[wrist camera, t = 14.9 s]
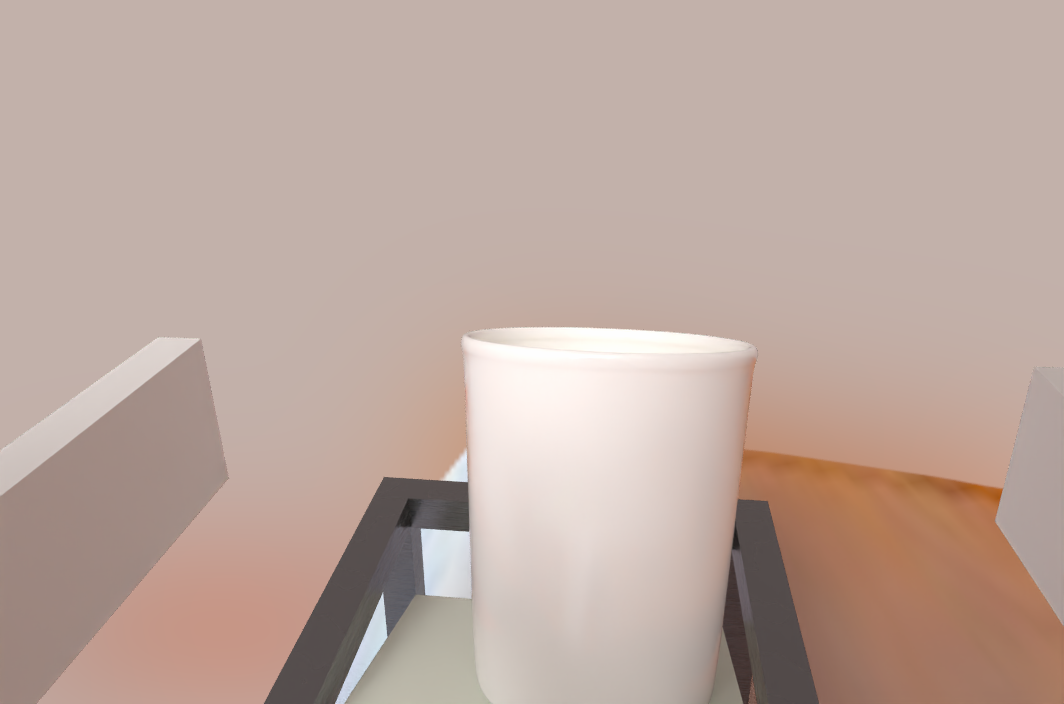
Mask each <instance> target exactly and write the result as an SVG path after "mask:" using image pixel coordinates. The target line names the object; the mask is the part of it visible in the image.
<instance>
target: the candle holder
mask: <svg viewBox="0 0 1064 704" xmlns="http://www.w3.org/2000/svg"><path fill="white" fill-rule="evenodd" d="M461 347H462V352H463V359H464V377H465V405H466V406H465V408H466V439H467V471H468V503H469V534H470V565H471V595H472V622H473V644H474V661H475V671H476V677H477V681H478V684H479V687H480V689H481V691H482V693H483V694H484V696H485V697H486V698H487V700H488V701H489V702H490V703H491V704H709V702H710V700H711V697H712V693H713V689H714V684H715V679H716V672H717V665H718V658H719V651H720V643H721V635H722V627H723V619H724V611H725V603H726V595H727V587H728V578H729V570H730V562H731V553H732V545H733V537H734V528H735V520H736V512H737V503H738V495H739V487H740V478H741V470H742V461H743V453H744V444H745V436H746V428H747V420H748V411H749V403H750V395H751V387H752V380H753V373H754V368H755V364H756V361H757V357H758V350H757V348H756V347H755V346H754V345H752V344H750V343H747V342H743V341H739V340H734V339H728V338H721V337H713V336H705V335H696V334H686V333H675V332H662V331H647V330H630V329H608V328H576V327H523V328H521V327H520V328H498V329H484V330H476V331H471V332H468V333H465V334H464V335H463V336H462V339H461Z"/></svg>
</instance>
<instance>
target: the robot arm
mask: <svg viewBox="0 0 1064 704" xmlns="http://www.w3.org/2000/svg"><path fill="white" fill-rule="evenodd" d="M228 479H229V477H228V472H227V467H226V462H225V457H224V452H223V447H222V442H221V437H220V432H219V427H218V422H217V417H216V412H215V406H214V402H213V396H212V391H211V386H210V381H209V377H208V372H207V367H206V362H205V356H204V351H203V346H202V341H201V339H194V338H165V337H158V338H157V339H156V340H154V341H153V342H151V343H150V344H148V345H147V346H146V347H144V348H143V349H141V350H140V351H139V352H137V353H136V354H134V355H133V356H132V357H130V358H129V359H127V360H126V361H125V362H123V363H122V364H120V365H119V366H118V367H116V368H115V369H113V370H112V371H111V372H109V373H108V374H106V375H105V376H104V377H102V378H101V379H99V380H98V381H97V382H95V383H94V384H92V385H91V386H90V387H88V388H87V389H85V390H84V391H83V392H81V393H80V394H79V395H77V396H76V397H74V398H73V399H71V400H70V401H68V402H67V403H66V404H64V405H63V406H62V407H60V408H59V409H58V410H56V411H54V412H53V413H52V414H50V415H49V416H47V417H46V418H45V419H43V420H42V421H40V422H39V423H38V424H37V425H35V426H33V427H32V428H31V429H29V430H28V431H27V432H25V433H24V434H22V435H21V436H20V437H18V438H17V439H15V440H14V441H13V442H11V443H10V444H8V445H7V446H5V447H4V448H3V449H1V450H0V704H37V702H38V701H39V700H40V699H41V698H42V696H43V695H44V694H45V693H46V692H47V691H48V690H49V688H50V687H51V686H52V685H53V684H54V682H55V681H56V680H57V679H58V678H59V677H60V675H61V674H62V673H63V672H64V671H65V670H66V668H67V667H68V666H69V665H70V664H71V663H72V661H73V660H74V659H75V658H76V657H77V656H78V654H79V653H80V652H81V651H82V650H83V648H84V647H85V646H86V645H87V644H88V642H89V641H90V640H91V639H92V638H93V637H94V636H95V634H96V633H97V632H98V631H99V630H100V629H101V627H102V626H103V625H104V624H105V623H106V622H107V620H108V619H109V618H110V617H111V616H112V615H113V613H114V612H115V611H116V610H117V609H118V607H119V606H120V605H121V604H122V603H123V602H124V600H125V599H126V598H127V597H128V596H129V595H130V593H131V592H132V591H133V590H134V589H135V588H136V586H137V585H138V584H139V583H140V582H141V581H142V579H143V578H144V577H145V576H146V575H147V573H148V572H149V571H150V570H151V569H152V568H153V566H154V565H155V564H156V563H157V562H158V561H159V559H160V558H161V557H162V556H163V555H164V554H165V552H166V551H167V550H168V549H169V548H170V547H171V545H172V544H173V543H174V542H175V541H176V540H177V538H178V537H179V536H180V535H181V534H182V533H183V531H184V530H185V529H186V528H187V527H188V525H189V524H190V523H191V522H192V521H193V520H194V518H195V517H196V516H197V515H198V514H199V513H200V511H201V510H202V509H203V508H204V507H205V506H206V504H207V503H208V502H209V501H210V500H211V498H212V497H213V496H214V495H215V494H216V493H217V492H218V490H219V489H220V488H221V487H222V486H223V484H224V483H225V482H226V481H227V480H228ZM995 522H996V524H997V525H998V527H999V528H1000V530H1001V531H1002V533H1003V534H1004V536H1005V537H1006V539H1007V540H1008V542H1009V543H1010V545H1011V546H1012V548H1013V550H1014V551H1015V553H1016V554H1017V556H1018V557H1019V559H1020V560H1021V562H1022V563H1023V565H1024V566H1025V568H1026V569H1027V571H1028V572H1029V574H1030V575H1031V577H1032V579H1033V580H1034V582H1035V583H1036V585H1037V586H1038V588H1039V589H1040V591H1041V592H1042V594H1043V595H1044V597H1045V598H1046V600H1047V601H1048V603H1049V605H1050V606H1051V608H1052V609H1053V611H1054V612H1055V614H1056V615H1057V617H1058V618H1059V620H1060V621H1061V623H1062V624H1063V626H1064V368H1054V367H1052V368H1051V367H1034V369H1033V373H1032V377H1031V381H1030V385H1029V389H1028V393H1027V397H1026V401H1025V405H1024V409H1023V413H1022V416H1021V420H1020V425H1019V428H1018V433H1017V436H1016V441H1015V444H1014V448H1013V453H1012V456H1011V460H1010V464H1009V468H1008V472H1007V476H1006V480H1005V484H1004V488H1003V492H1002V495H1001V499H1000V503H999V507H998V511H997V515H996V519H995Z"/></svg>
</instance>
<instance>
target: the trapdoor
mask: <svg viewBox="0 0 1064 704" xmlns="http://www.w3.org/2000/svg"><path fill="white" fill-rule="evenodd" d="M344 704H491V703H490V702H489V701H488V700H487V698H486V697H485V696H484V694H483V693H482V691H481V689H480V687H479V684H478V681H477V677H476V671H475V661H474V644H473V622H472V599H465V598H453V597H440V596H427V595H415V596H414V598H413V599H412V601H411V603H410V604H409V606H408V607H407V609H406V610H405V612H404V613H403V615H402V616H401V618H400V619H399V621H398V622H397V624H396V625H395V627H394V628H393V630H392V632H391V633H390V635H389V636H388V638H387V639H386V641H385V642H384V644H383V645H382V647H381V648H380V650H379V651H378V653H377V654H376V656H375V658H374V659H373V661H372V662H371V664H370V665H369V667H368V668H367V670H366V671H365V673H364V674H363V676H362V677H361V679H360V680H359V682H358V683H357V685H356V687H355V688H354V690H353V691H352V693H351V694H350V696H349V697H348V699H347V700H346V702H345V703H344ZM709 704H743V701H742V697H741V694H740V690H739V686H738V682H737V679H736V675H735V671H734V668H733V664H732V660H731V656H730V653H729V649H728V645H727V642H726V638H725V634H724V630H723V627H722V635H721V643H720V651H719V658H718V665H717V672H716V679H715V684H714V689H713V693H712V697H711V700H710V702H709Z"/></svg>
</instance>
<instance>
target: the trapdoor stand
mask: <svg viewBox="0 0 1064 704" xmlns="http://www.w3.org/2000/svg"><path fill="white" fill-rule="evenodd" d="M421 528H424V529H438V530H453V531H467V532H469V503H468V482H454V481H438V480H422V479H406V478H389V477H384V478H383V480H382V482H381V484H380V486H379V488H378V489H377V491H376V493H375V495H374V497H373V499H372V501H371V503H370V505H369V507H368V509H367V510H366V512H365V514H364V516H363V518H362V520H361V522H360V523H359V525H358V527H357V529H356V531H355V533H354V535H353V537H352V539H351V541H350V542H349V544H348V546H347V548H346V550H345V552H344V554H343V555H342V558H341V559H340V561H339V564H338V565H337V567H336V569H335V571H334V572H333V574H332V576H331V578H330V580H329V582H328V584H327V586H326V588H325V590H324V591H323V593H322V595H321V597H320V599H319V601H318V603H317V604H316V606H315V608H314V610H313V612H312V614H311V616H310V618H309V620H308V622H307V624H306V625H305V627H304V629H303V631H302V633H301V635H300V637H299V639H298V640H297V642H296V644H295V646H294V648H293V650H292V652H291V654H290V655H289V657H288V659H287V661H286V663H285V665H284V667H283V669H282V671H281V672H280V674H279V676H278V678H277V680H276V682H275V684H274V686H273V687H272V689H271V691H270V693H269V695H268V697H267V699H266V701H265V703H264V704H335V702H336V700H337V697H338V695H339V693H340V690H341V688H342V686H343V684H344V681H345V679H346V677H347V674H348V672H349V670H350V667H351V665H352V663H353V660H354V658H355V656H356V653H357V651H358V649H359V646H360V644H361V642H362V639H363V637H364V635H365V632H366V630H367V628H368V625H369V623H370V621H371V618H372V616H373V614H374V611H375V609H376V607H377V604H378V602H379V600H380V598H381V595H382V593H383V594H384V605H385V615H386V625H387V636H389V635H390V633H391V632H392V630H393V628H394V627H395V625H396V624H397V622H398V621H399V619H400V618H401V616H402V615H403V613H404V612H405V610H406V609H407V607H408V606H409V604H410V603H411V601H412V599H413V598H414V596H415V595H425V584H424V570H423V556H422V542H421ZM723 630H724V634H725V638H726V642H727V645H728V649H729V653H730V656H731V660H732V664H733V668H734V671H735V675H736V679H737V682H738V686H739V690H740V694H741V697H742V701H743V704H748V700H749V693H750V686H751V678H752V676H753V682H754V688H755V694H756V700H757V704H819V702H818V698H817V694H816V690H815V686H814V682H813V678H812V674H811V670H810V666H809V662H808V658H807V655H806V651H805V647H804V643H803V639H802V635H801V631H800V627H799V623H798V619H797V615H796V611H795V607H794V603H793V599H792V596H791V592H790V588H789V584H788V580H787V576H786V572H785V568H784V564H783V560H782V556H781V552H780V548H779V544H778V540H777V536H776V533H775V529H774V525H773V521H772V517H771V513H770V509H769V505H768V501H755V500H740V499H738V503H737V512H736V520H735V528H734V537H733V545H732V553H731V562H730V570H729V578H728V587H727V595H726V603H725V611H724V619H723Z"/></svg>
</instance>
